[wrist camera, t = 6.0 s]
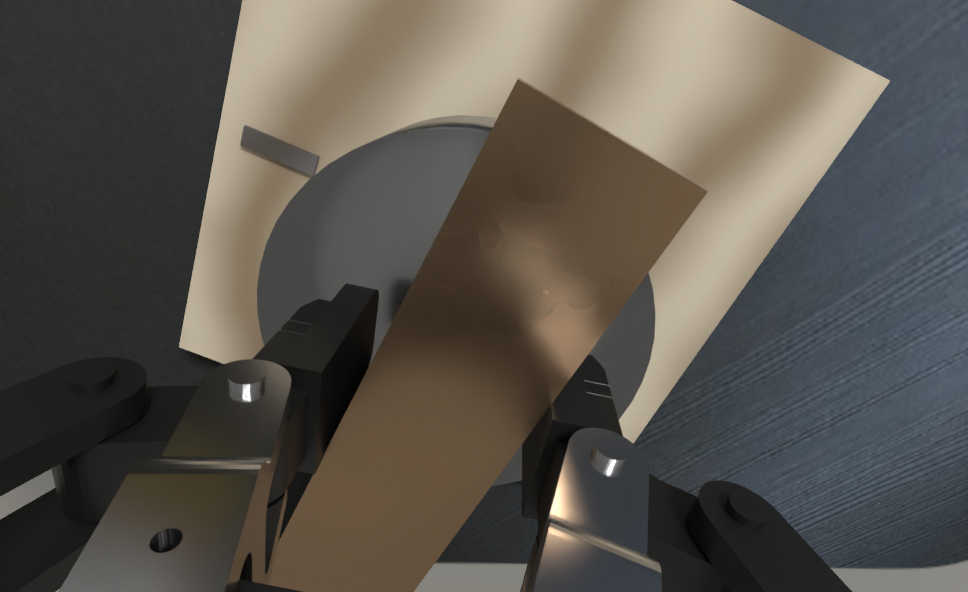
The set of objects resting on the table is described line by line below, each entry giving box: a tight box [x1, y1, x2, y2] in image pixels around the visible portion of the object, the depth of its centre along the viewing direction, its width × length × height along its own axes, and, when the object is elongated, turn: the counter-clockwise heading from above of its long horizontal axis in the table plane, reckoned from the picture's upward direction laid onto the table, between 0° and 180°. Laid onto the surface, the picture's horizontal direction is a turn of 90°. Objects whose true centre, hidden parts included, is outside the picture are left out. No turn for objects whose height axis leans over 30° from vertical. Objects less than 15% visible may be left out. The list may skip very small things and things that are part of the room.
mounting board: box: [179, 0, 890, 443], centre depth 21 cm, size 22×22×2 cm
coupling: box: [257, 78, 708, 592], centre depth 15 cm, size 13×10×12 cm
